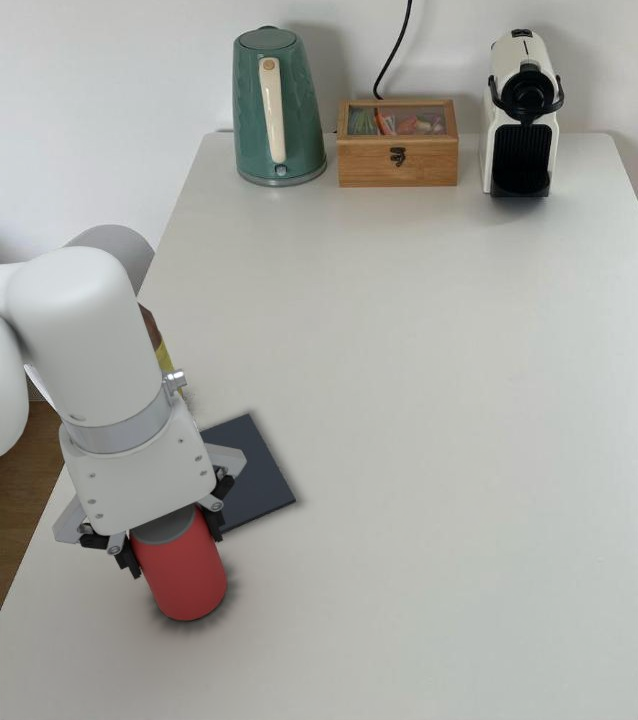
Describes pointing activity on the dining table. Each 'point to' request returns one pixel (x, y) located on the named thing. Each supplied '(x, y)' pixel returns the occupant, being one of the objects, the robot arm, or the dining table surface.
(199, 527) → the beer can
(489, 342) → the dining table surface
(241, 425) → the mat
